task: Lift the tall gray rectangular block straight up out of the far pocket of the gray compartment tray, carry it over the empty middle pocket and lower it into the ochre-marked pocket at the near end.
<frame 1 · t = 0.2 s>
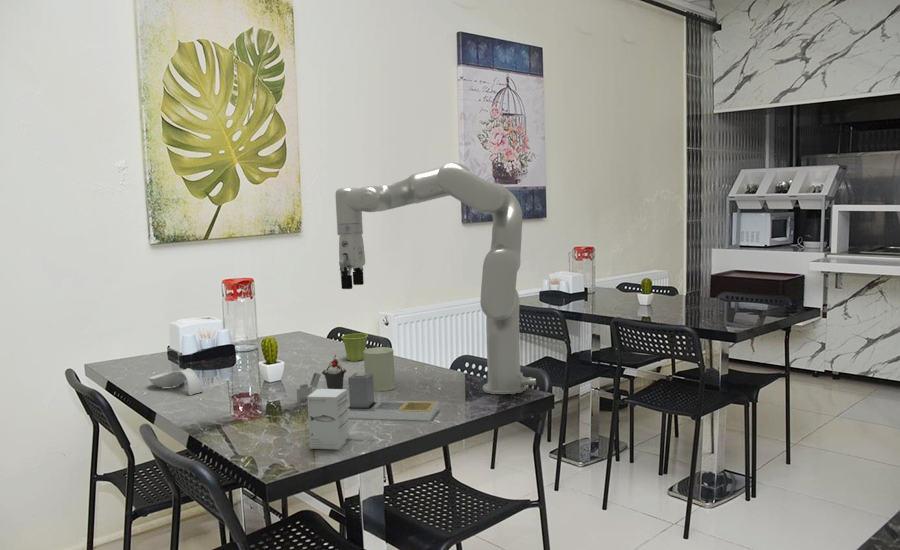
hand: (352, 286, 218), 31 cm above the table, tool pointing down, fingers open, 9 cm apart
supplement box: (329, 445, 170), on the table
sundae: (336, 407, 202), on the table
plant pot: (356, 360, 261), on the table
spoon rest: (178, 390, 229), on the table
gray rectangular block: (362, 412, 192), point 1 cm above the table, touching gray compartment tray
can: (380, 388, 221), on the table
gray compartment tray: (390, 417, 190), on the table
lighter: (309, 401, 209), on the table
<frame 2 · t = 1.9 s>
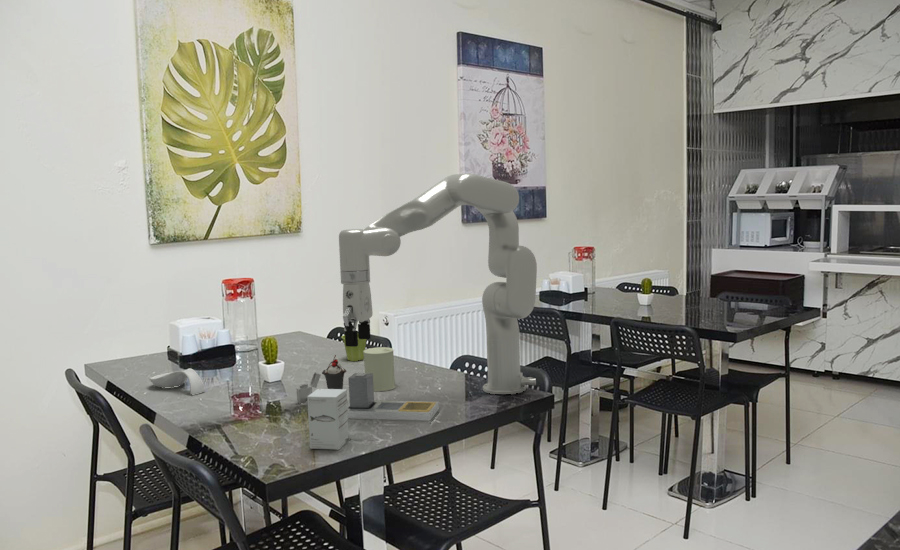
hand: (358, 342, 189), 20 cm above the table, tool pointing down, fingers open, 9 cm apart
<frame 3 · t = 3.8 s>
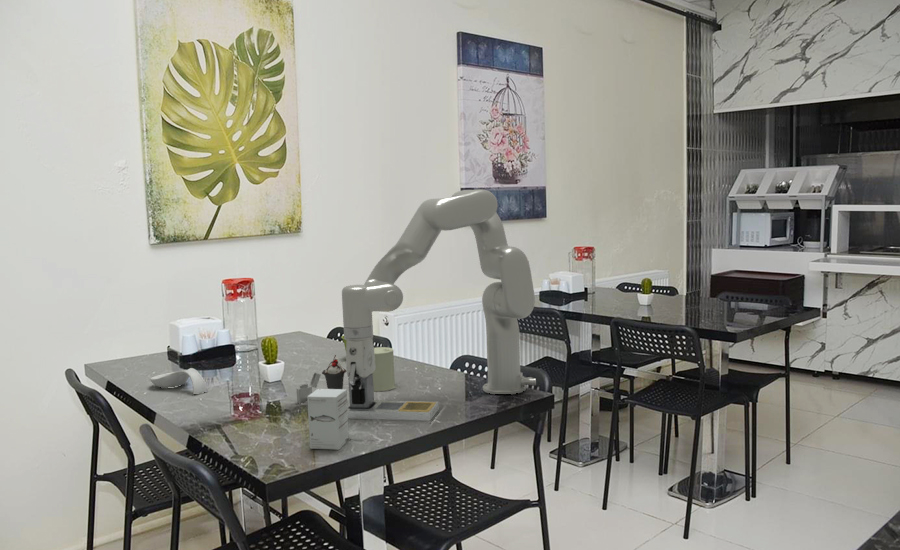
hand: (362, 400, 191), 4 cm above the table, tool pointing down, fingers closed on gray rectangular block, 5 cm apart
gray rectangular block: (362, 412, 192), point 1 cm above the table, touching gripper, gray compartment tray
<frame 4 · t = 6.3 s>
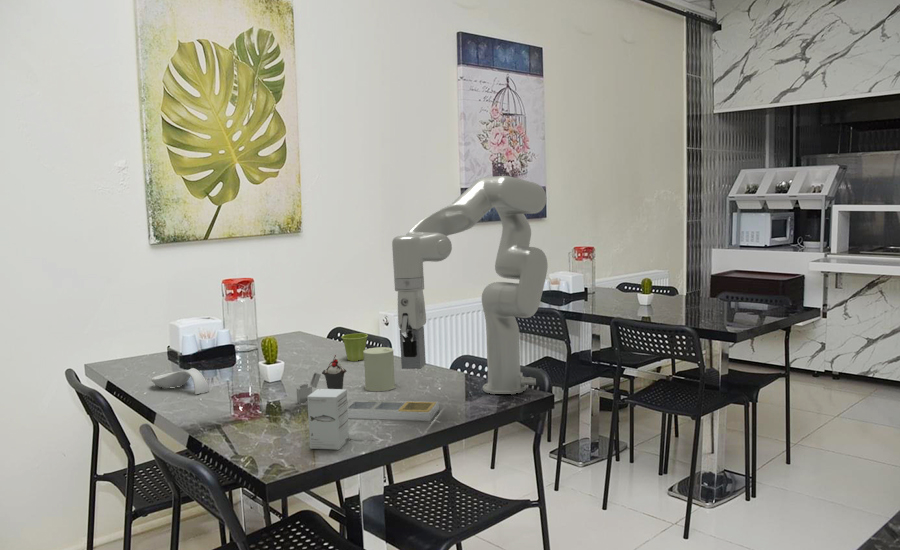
hand: (413, 353, 187), 17 cm above the table, tool pointing down, fingers closed on gray rectangular block, 5 cm apart
gray rectangular block: (413, 366, 187), point 14 cm above the table, touching gripper
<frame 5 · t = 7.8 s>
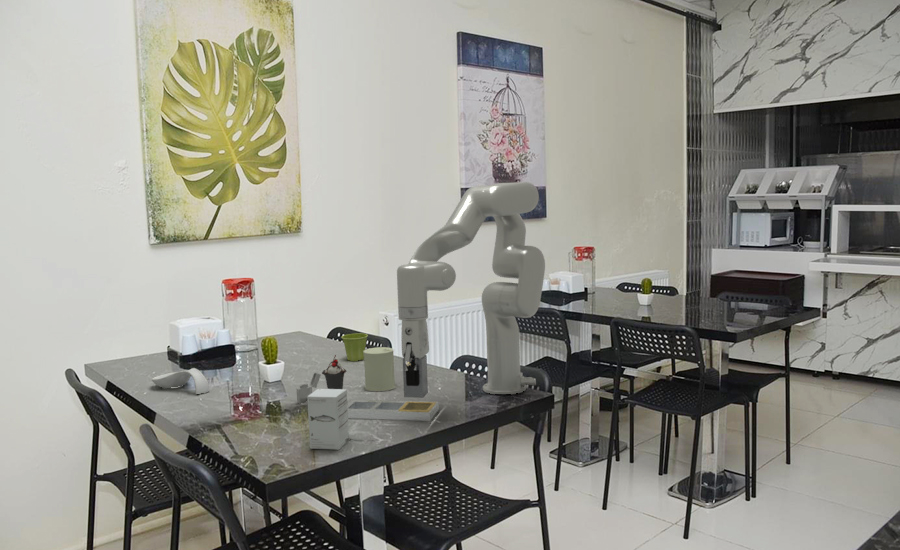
hand: (415, 382, 187), 10 cm above the table, tool pointing down, fingers closed on gray rectangular block, 5 cm apart
gray rectangular block: (416, 394, 188), point 6 cm above the table, touching gripper
when the fingers open (7 cm above the table, at t = 9.1 s): gray rectangular block drops 2 cm, resting on gray compartment tray.
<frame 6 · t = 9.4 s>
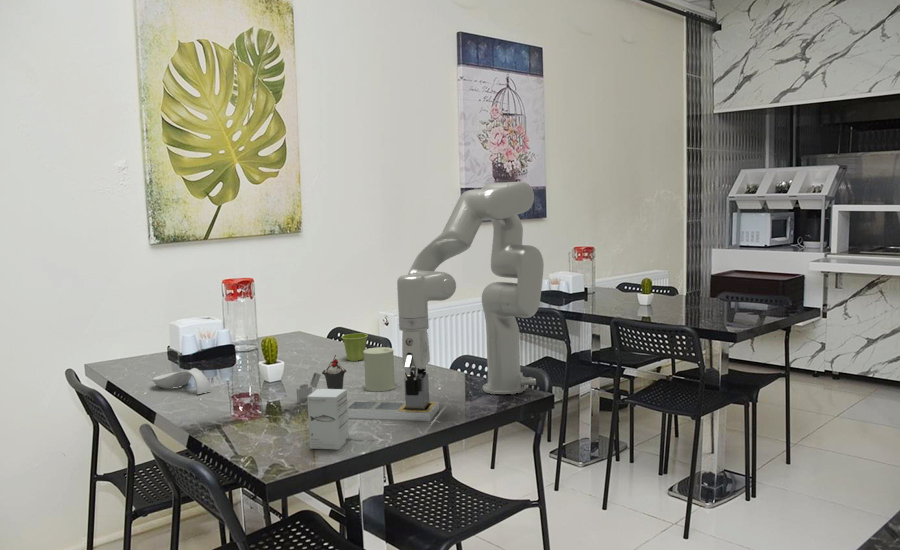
hand: (416, 390, 188), 7 cm above the table, tool pointing down, fingers open, 7 cm apart
gray rectangular block: (418, 413, 188), point 1 cm above the table, touching gray compartment tray
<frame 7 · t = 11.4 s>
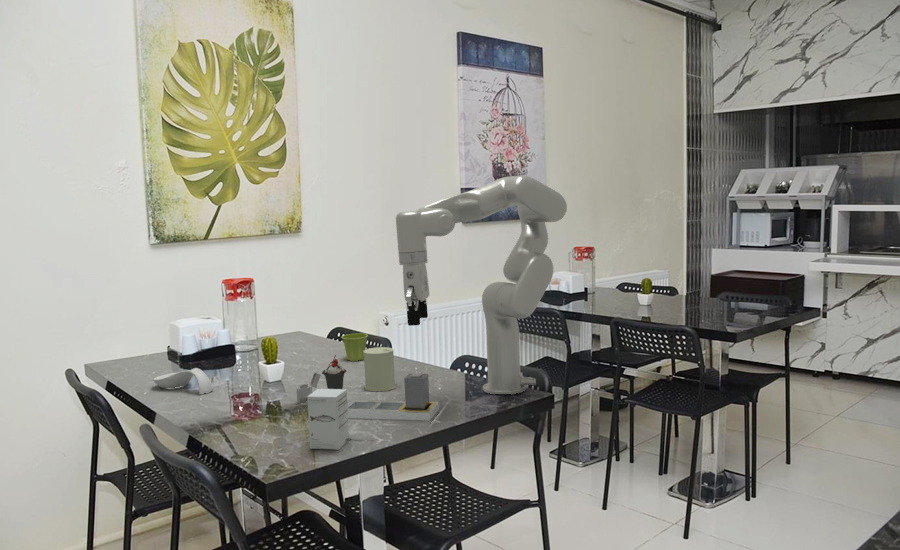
hand: (418, 321, 195), 24 cm above the table, tool pointing down, fingers open, 9 cm apart
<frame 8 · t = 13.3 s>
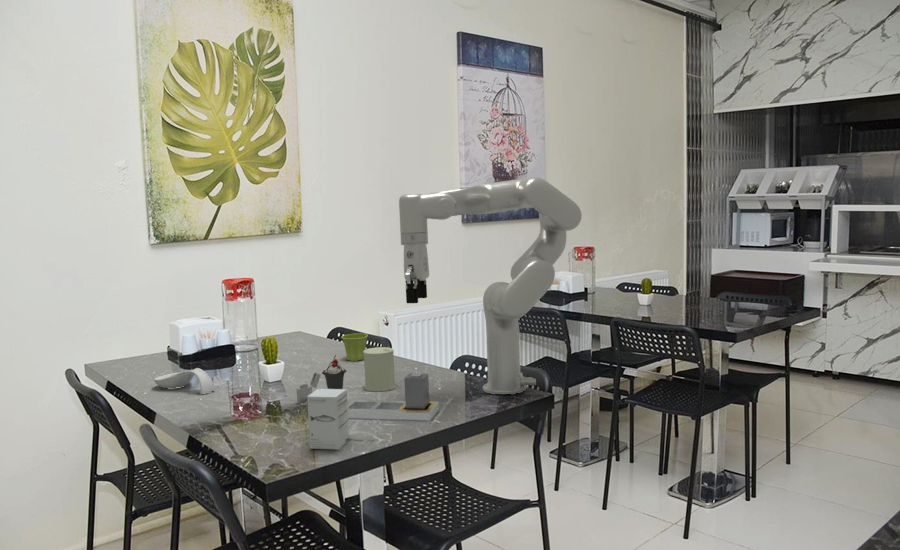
hand: (417, 300, 203), 28 cm above the table, tool pointing down, fingers open, 9 cm apart
at the end: gray rectangular block 0.1 cm from the target spot on the gray compartment tray, point 1.1 cm above the gray compartment tray's base; gray rectangular block tilted 0°; the gripper is holding nothing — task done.
